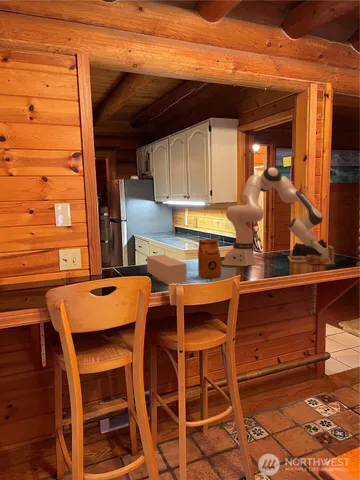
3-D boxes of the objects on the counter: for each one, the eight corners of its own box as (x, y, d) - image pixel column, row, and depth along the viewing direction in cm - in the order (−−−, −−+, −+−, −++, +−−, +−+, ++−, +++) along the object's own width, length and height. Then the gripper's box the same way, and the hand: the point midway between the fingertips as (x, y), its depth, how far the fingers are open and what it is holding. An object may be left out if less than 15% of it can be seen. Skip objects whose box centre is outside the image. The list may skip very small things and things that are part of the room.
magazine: (292, 245, 232) (323, 231, 241) (289, 245, 235) (320, 230, 244) (297, 267, 236) (328, 252, 245) (294, 266, 239) (324, 251, 248)
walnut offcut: (307, 262, 212) (307, 258, 211) (305, 261, 217) (305, 257, 216) (317, 262, 211) (317, 258, 210) (315, 261, 216) (315, 257, 215)
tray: (290, 263, 215) (290, 260, 215) (287, 259, 229) (287, 256, 228) (306, 263, 213) (306, 260, 213) (302, 259, 227) (302, 256, 227)
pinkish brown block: (147, 273, 200) (146, 256, 198) (163, 271, 204) (163, 254, 203) (168, 286, 171) (168, 266, 170) (187, 283, 176) (186, 263, 174)
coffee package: (222, 278, 184) (222, 239, 181) (201, 279, 181) (200, 240, 178) (217, 273, 193) (216, 237, 190) (197, 275, 191) (196, 238, 188)
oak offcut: (308, 258, 211) (308, 255, 211) (306, 257, 215) (306, 254, 215) (316, 258, 211) (316, 255, 211) (314, 257, 215) (314, 254, 215)
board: (321, 262, 212) (321, 248, 210) (320, 261, 213) (321, 248, 212) (328, 262, 211) (328, 248, 210) (327, 261, 213) (327, 248, 211)
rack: (308, 265, 209) (308, 248, 207) (304, 261, 220) (305, 245, 218) (335, 265, 206) (335, 248, 205) (330, 262, 217) (330, 245, 215)
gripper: (316, 238, 201) (333, 253, 201) (309, 234, 221) (324, 248, 221) (308, 245, 203) (325, 260, 202) (302, 240, 222) (317, 254, 222)
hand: (324, 254), depth 212 cm, fingers open, 6 cm apart
